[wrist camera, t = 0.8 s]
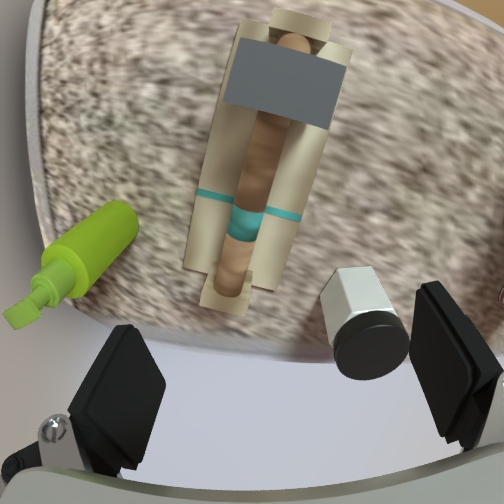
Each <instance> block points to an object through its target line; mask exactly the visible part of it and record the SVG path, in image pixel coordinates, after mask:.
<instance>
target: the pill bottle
mask: <svg viewBox="0 0 504 504" xmlns="http://www.w3.org/2000/svg"><path fill="white" fill-rule="evenodd" d="M499 302H500V304H501V306H502V307H503V308H504V287H503V288H502V290H501V293H500V296H499Z"/></svg>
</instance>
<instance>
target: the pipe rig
mask: <svg viewBox="0 0 504 504" xmlns="http://www.w3.org/2000/svg"><path fill="white" fill-rule="evenodd" d="M332 24H333V23H331V22H327V21H324V20H321V19H318V18H315V17H311V16H308V15H304V14H301V13H297V12H293V11H289V10H285V9H281V8H277V7H274V10H273V13H272V17H271V20H270V23H269V25H268V24H264V23H259V22H254V21H249V20H244V19H241V21H240V24H239V28H238V31H237V34H236V38H235V41H234V44H233V48H232V51H231V55H230V58H229V62H228V66H227V69H226V73H225V76H224V80H223V84H222V88H221V91H220V95H219V99H218V103H217V107H216V111H215V115H214V119H213V123H212V127H211V131H210V136H209V140H208V144H207V149H206V153H205V157H204V162H203V166H202V171H201V176H200V180H199V185H198V189H197V194H196V200H195V205H194V210H193V215H192V220H191V225H190V231H189V236H188V242H187V247H186V253H185V259H184V264H183V267H184V268H188V269H192V270H195V271H199V272H203V273H207V274H208V276H207V279H206V281H205V284H204V287H203V290H202V294H201V299H200V304H199V306H202V307H206V308H210V309H214V310H218V311H222V312H226V313H230V314H234V315H238V316H242V317H245V314H246V311H247V308H248V305H249V300H250V292H251V285H253V286H257V287H261V288H265V289H270V290H274V291H276V290H277V287H278V284H279V281H280V278H281V276H282V273H283V270H284V267H285V264H286V261H287V258H288V255H289V253H290V250H291V247H292V244H293V241H294V238H295V235H296V232H297V229H298V226H299V223H300V221H301V218H302V214H303V211H304V208H305V205H306V202H307V199H308V196H309V193H310V190H311V187H312V184H313V181H314V178H315V175H316V171H317V168H318V165H319V162H320V159H321V156H322V153H323V149H324V146H325V143H326V140H327V136H328V133H329V130H330V127H331V123H332V120H333V117H334V113H335V110H336V107H337V103H338V100H339V97H340V93H341V90H342V86H343V83H344V79H345V76H346V72H347V69H348V65H349V62H350V58H351V55H352V51H353V50H352V49H349V48H347V47H344V46H341V45H338V44H335V43H332V42H329V41H328V38H329V35H330V31H331V27H332ZM240 37H243V38H248V39H253V40H257V41H262V42H266V43H270V44H274V45H278V46H282V47H286V48H290V49H294V50H297V51H301V52H304V53H308V54H311V55H314V56H317V57H320V58H324V59H327V60H330V61H333V62H336V63H338V64H341V65H344V66H347V68H346V72H345V75H344V79H343V82H342V86H341V89H340V92H339V96H338V99H337V103H336V106H335V109H334V113H333V116H332V119H331V123H330V126H329V129H328V130H325V129H322V128H319V127H316V126H313V125H310V124H306V123H303V122H300V121H296V120H293V119H290V118H286V117H283V116H279V115H275V114H272V113H268V112H264V111H260V110H256V109H252V108H248V107H244V106H239V105H235V104H231V103H226V102H222V101H223V97H224V94H225V90H226V86H227V82H228V79H229V75H230V71H231V68H232V64H233V61H234V57H235V54H236V50H237V47H238V43H239V40H240Z"/></svg>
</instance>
